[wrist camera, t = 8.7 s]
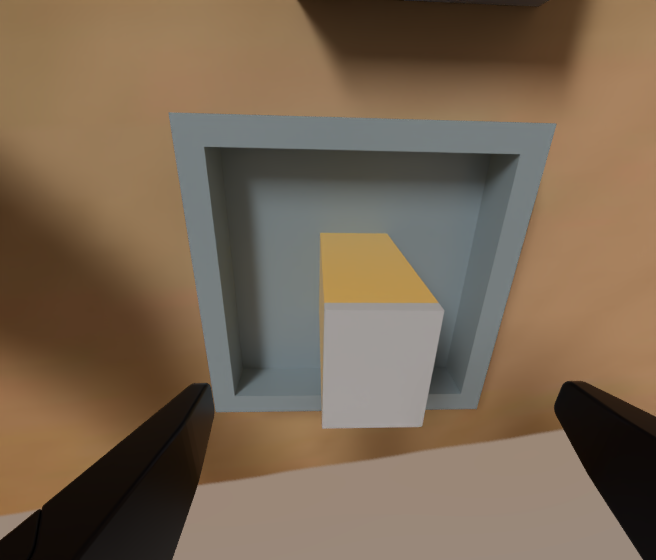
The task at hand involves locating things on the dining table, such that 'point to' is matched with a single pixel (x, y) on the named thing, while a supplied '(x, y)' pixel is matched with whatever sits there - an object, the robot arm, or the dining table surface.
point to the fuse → (374, 333)
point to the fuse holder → (494, 2)
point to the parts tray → (348, 217)
